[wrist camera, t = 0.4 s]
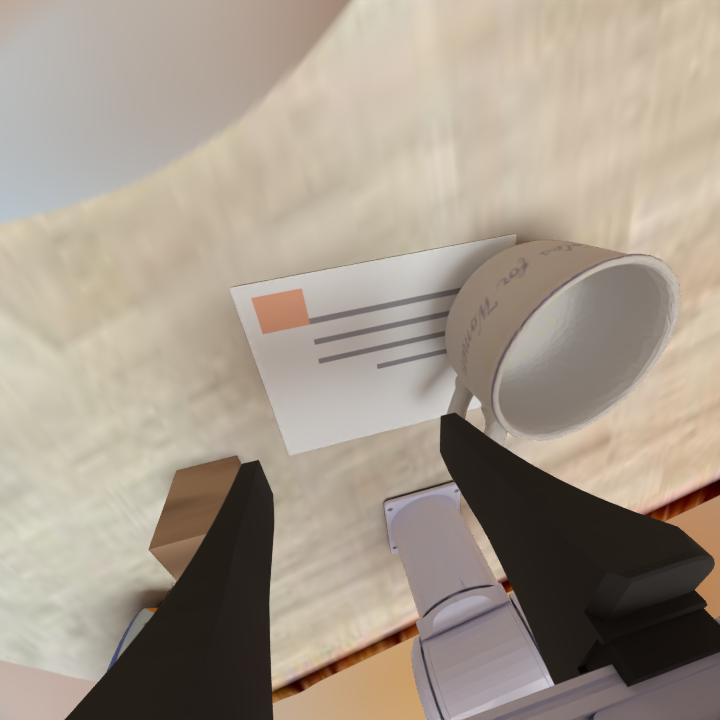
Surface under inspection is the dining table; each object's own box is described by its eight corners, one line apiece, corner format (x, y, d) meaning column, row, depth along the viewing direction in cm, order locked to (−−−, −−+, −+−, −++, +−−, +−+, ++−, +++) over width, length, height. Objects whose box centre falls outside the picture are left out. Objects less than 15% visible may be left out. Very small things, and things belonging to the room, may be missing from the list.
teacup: (531, 189, 19) (673, 196, 12) (585, 307, 24) (704, 357, 17) (363, 345, 22) (401, 422, 15) (445, 420, 27) (500, 501, 20)
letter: (494, 402, 27) (495, 403, 27) (289, 454, 25) (289, 456, 25) (515, 233, 20) (516, 234, 20) (229, 287, 18) (228, 288, 18)
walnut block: (254, 491, 27) (248, 565, 22) (200, 505, 26) (180, 585, 21) (236, 455, 24) (225, 528, 19) (176, 470, 24) (148, 549, 19)
